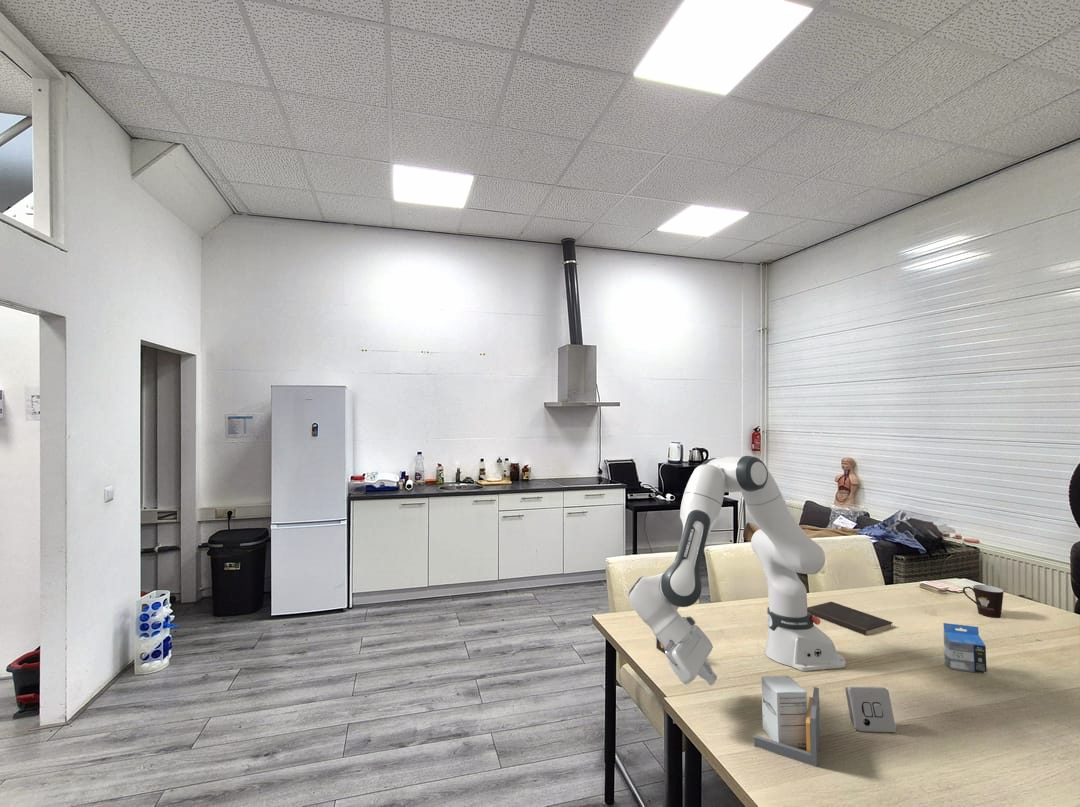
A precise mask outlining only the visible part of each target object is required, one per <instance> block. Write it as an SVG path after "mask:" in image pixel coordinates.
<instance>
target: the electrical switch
mask: <svg viewBox="0 0 1080 807" xmlns="http://www.w3.org/2000/svg"><path fill="white" fill-rule="evenodd" d="M844 689H845V695H846V700H847V706H848V712H849V717H850V723H851V724H852V725H853V727H854V729H855V730H856V731H858V732H869V733H870V732H874V733H875V732H879V733H880V732H881V733H896V731H897V728H896V727H897V726H896V723H895V716H894V712H893V707H892V702H891V697H890V692H889V690H888V689H887V688H885V687H884V686H883V687H881V686H880V687H878V686H848V687H844Z"/></svg>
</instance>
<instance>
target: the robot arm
mask: <svg viewBox="0 0 1080 807" xmlns="http://www.w3.org/2000/svg"><path fill="white" fill-rule="evenodd" d="M738 492H740V493H741V494H742V498H743V501H744V503H745V505H746V507H747V509H748V512H749V514H750V516H751V518H752V519H751V520H752V521H753V523H754V524H755V525H756V526H757V527H758V529H757V530H755V532H754V533H753V535H752V537H751V539H750V540H751V541H750V545H751V546H750V547H751V549H752V551H753V553H755V555H756V556H757V558H758V560H759V562H760V564H761V567H762V569H763V572H764V575H765V579H766V585H767V595H768V597H767V598H768V599H767V600H768V607H767V609H766V610H767V613H766V614H767V617H766V619H767V620H766V621H767V626H768V631H767V637H766V638H767V640H766V643H765V648H764V654H765V655H766V656H767V657H768V658H769V659H771V660H773V661H775V662H777V663H779V664H782V665H785V666H789V667H792V668H794V669H796V670H799V671H802V672H808V671H818V670H819V671H820V670H831V669H842V668H846V666H847V665H846V660H845V659H844V657H843V656H842V655H841V654H840V653H838V652H837V648H836V646H835V644H834V642H833V640H832V639H831V638H830V636H828V635H827V634H826V633H824V631H822V630H821V629H820V628H818V627H817V626H818V625H820V624H821V622H822V621H821V620H822V619H821V618H818V617H816V616H813V615H812V614H810V613H809V612H807V607H808V593H807V592H808V591H807V587H806V586H805V584H804V583H803V582H802V580H801V579H800V577H799V575H798V574H805V575H816V574H818V573H819V572H821V570H823V568H824V566H825V564H826V554H825V551H824V549H823V547H821V546H820V544H818V543H817V542H816V541H814V540H813V539H812V538H811V537H810V536H809V535H808V534H807V533H806V532H805V530H804V528H802V527H801V526H800V524H799V523H798V522H797V521H796V519H795V518H794V516H793V514H791V511H790V509H789V507H788V505H787V503H786V501H785V499H784V497H783V494H782V493H781V491H780V488H779V486H778V484H777V482H776V480H775V479H774V476H773V475H772V474H771V472H770V471H769V470H768V468H767V466H766V464H765V463H764V462H763V460H761V459H760V458H758V457H756V456H751V455H744V456H743V455H742V456H741V455H728V456H723V457H718V458H715V457H712V458H709V459H706V460H704V461H703V462H702V463H701V464H699V465H698V466H697V467H695V468H694V470H693V472H692V474H691V475H690V477H689V479H688V481H687V483H686V487H685V488H684V491H683V496H682V499H681V504H680V510H679V511H680V512H679V518H680V521H681V523H682V534H681V537H680V538H681V539H680V542H679V545H678V549H677V553H676V556H675V557H674V561H673V562H672V564H671V565H670V566H669V567H668V568H667V569H666V570H665V571H664V572H662V573H658V574H654V575H648V576H641V577H639V578H637V580H636V582H634V584H633V585H632V586H631V589H630V590H629V592H628V595H627V596H628V601H629V603H630V605H631V607H632V608H633V610H634V611H635V613H636V615H637V616H638V617H640V619H641V620H642V622H643V623H645V624H646V625H647V626H648V627H649V628H650V629H651V631H652V633H653V635H654V636H655V638H657V639H658V640H659V641H660V642H661V644H662V645H663V646H664V647H665V648H664V650H665V653H666V654H665V657H666V660H667V663H668V664H669V666H670V668H671V669H672V671H673V672H674V673H675V675H676V676H677V678H678V679H679V681H680V682H681V683H683V684H684V685H689V684H691V683H692V682H693V681H694V680H695V679H696V677H697V676H698V677H699V678H701V679H703V680H705V681H706V682H707V683H708V685H709V686H713V685H714V684H715V683H716V681H717V678H718V675H717V674H716V673H715V672H714V669H713V667H712V666H711V664H710V662H709V661H708V657H709V656H710V654H711V653H712V651H713V648H714V646H713V643H712V641H711V640H710V639H709V637H708V636H707V635H706V633H705V632H704V631H703V630H702V629H701V628H700V626H698V625H697V624H696V620H695V619H694V618H693V617H692V616H690V615H689V616H682V615H681V614H680V612H678V609H679V608H685V607H686V608H688V607H690V606H692V605H694V604H695V603H696V602H698V600H699V599H700V597H701V594H702V580H701V574H700V567H701V561H702V558H703V554H704V550H705V546H706V542H707V539H708V537H709V535H710V533H711V532H712V530H713V528H714V527H715V525H716V522H717V521H718V519H719V515H720V512H721V509H722V505H723V501H724V497H725V493H738ZM797 573H798V574H797ZM814 624H815V625H817V626H815V625H814ZM667 651H668V652H667Z"/></svg>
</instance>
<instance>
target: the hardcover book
mask: <svg viewBox="0 0 1080 807" xmlns="http://www.w3.org/2000/svg"><path fill="white" fill-rule="evenodd" d="M807 612H809V613H810V614H812V615H813V616H816V617H817V618H819V619H820V620H823V621H827V622H829V623H832V624H835V625H837V626H840V627H842V628H845V629H848V630H850V631H853V632H855V633H858V634H861V635H864V636H867V635H870V634H871V635H872V634H874V633H877V632H880V631H884V630H886V629H890V628H892V624H893V622H892V621H890V620H887V619H884V618H881V617H879V616H875V615H872V614H870V613H866V612H865V611H864V612H863V611H861V610H858V609H855V608H851V607H848V606H846V605H842V604H839V603H837V602H834V601H827V602H824V603H819V604H816V605H813V606H807Z"/></svg>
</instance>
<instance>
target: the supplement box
mask: <svg viewBox="0 0 1080 807" xmlns="http://www.w3.org/2000/svg"><path fill="white" fill-rule="evenodd" d="M761 707H762V713H761V714H762V717H761V719H762V729H763V730H764V731H765V732H766V733H767V735H768V736H769V737H770V739H771V740H773V741H776V742H779V743H782V744H785V745H788V746H791V747H794V748H807V745H806V717H807V710H808V691H806V689H804V688H803V687H802V686H801V685H800V684H798V682H796V681H795V680H794V678H792V677H791V676H790V675H767V676H761Z"/></svg>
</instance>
